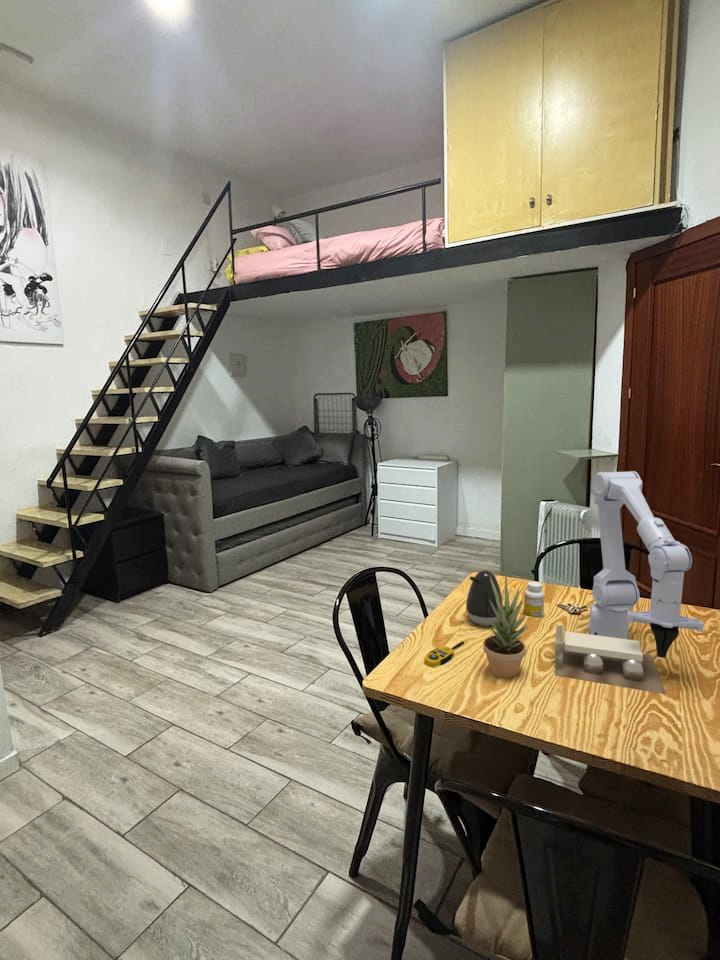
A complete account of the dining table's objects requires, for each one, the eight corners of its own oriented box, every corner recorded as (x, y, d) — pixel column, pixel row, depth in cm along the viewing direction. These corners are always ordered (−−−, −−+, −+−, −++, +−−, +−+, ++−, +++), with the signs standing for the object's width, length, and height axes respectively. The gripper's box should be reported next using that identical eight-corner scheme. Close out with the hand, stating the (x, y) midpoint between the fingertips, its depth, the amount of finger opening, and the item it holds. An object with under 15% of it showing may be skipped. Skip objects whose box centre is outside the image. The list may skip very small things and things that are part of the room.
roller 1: (595, 677, 116) (580, 665, 117) (593, 656, 125) (578, 645, 126) (607, 665, 115) (591, 653, 116) (603, 644, 124) (589, 634, 125)
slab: (564, 650, 119) (565, 644, 119) (564, 636, 126) (564, 631, 125) (642, 661, 113) (642, 655, 113) (638, 646, 120) (638, 640, 120)
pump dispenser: (458, 618, 148) (458, 568, 145) (486, 611, 152) (487, 562, 150) (481, 633, 139) (482, 579, 136) (510, 624, 143) (512, 573, 141)
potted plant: (474, 668, 121) (476, 568, 117) (506, 659, 125) (509, 562, 121) (501, 690, 112) (505, 583, 108) (535, 680, 116) (540, 576, 112)
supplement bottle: (529, 609, 153) (530, 578, 151) (546, 615, 149) (548, 583, 147) (520, 615, 149) (521, 583, 147) (537, 621, 145) (539, 588, 144)
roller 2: (634, 683, 113) (619, 671, 114) (628, 661, 123) (614, 650, 123) (647, 672, 112) (632, 659, 113) (641, 651, 121) (626, 639, 122)
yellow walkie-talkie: (420, 656, 124) (455, 634, 134) (420, 663, 124) (455, 641, 135) (436, 663, 121) (471, 641, 131) (436, 670, 121) (471, 647, 131)
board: (554, 679, 116) (556, 650, 115) (555, 644, 132) (556, 619, 131) (665, 698, 108) (668, 667, 107) (652, 659, 124) (654, 632, 123)
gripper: (631, 600, 112) (626, 658, 114) (709, 610, 107) (703, 670, 109) (627, 589, 118) (623, 644, 121) (701, 597, 113) (695, 654, 115)
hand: (661, 655), depth 115 cm, fingers closed
